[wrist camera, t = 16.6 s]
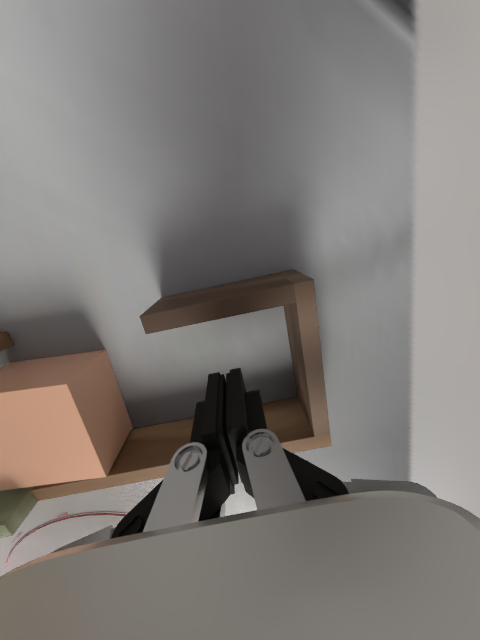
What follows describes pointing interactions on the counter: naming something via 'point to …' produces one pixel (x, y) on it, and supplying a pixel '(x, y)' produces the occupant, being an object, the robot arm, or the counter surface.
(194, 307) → the box
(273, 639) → the robot arm
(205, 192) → the counter surface
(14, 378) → the terracotta block
